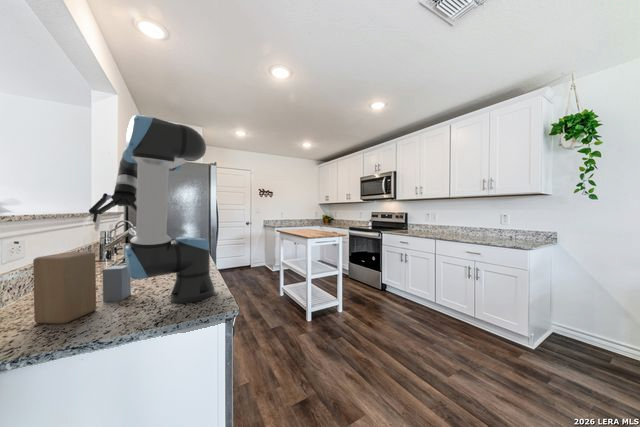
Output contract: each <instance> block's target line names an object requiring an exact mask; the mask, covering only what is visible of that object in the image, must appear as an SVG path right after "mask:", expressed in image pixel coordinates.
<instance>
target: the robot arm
mask: <svg viewBox="0 0 640 427" xmlns="http://www.w3.org/2000/svg"><path fill="white" fill-rule="evenodd" d="M206 145H207V144H206V142H205V139H204V138H203V136H202V135H201V134H200V133H199V132H198V131H197V130H195V129H194V128H192V127H190V126H187V125H184V124H179V123H175V122H172V121H169V120H164V119H161V118H156V117H154V116H147V115H142V114H135V115H133V116H132V117H131V119H130V121H129V124H128V127H127V130H126V136H125V145H124V147H125V148H124V149H123V152H122V156H121V160H120V161H119V167H118V172H117V177H116V180H115V186H114V191H113V194H112V195H111V194H108V193H107V192H106V193H103V195H102V197H101V198H100V199H99V200H98V201H97V202H95V204H94V205H93V206H92V207H90V208H89V209H88V212H89V214H90V215H93V217H92V222H93V223H94V224H95V225H94V228H93V229H94V231H95V232H99V229H100V225H101V220H102V214H104V213H106V212H107V211H108V210H109V211H110V209H112V208H113V207H114V208H115V207H116V206H118V207H130V208H131V209H133V211H135V213H136V221H135V222H136V226H135V227H136V228H135V230H136V231H135V232H136V233H135V235H134V236H132V237H131V238H130V239H129V240H130V241H129V244H127V245H125V246H124V247H123V255H124V261H125V265H126V266H127V270H128V273H129V276H130V279H132V280H141V279H142V280H144V279H149V278H155V277H161V276H165V275H172V274H175V281H174V284H173V287H172V289H171V293H170V300H171V302H173V303H178V304H186V303H195V302H200V301H203V300H206V299H208V298H210V297H213V295H214V294H215V286H214V283H213V280H212V278H211V275H210V252H211V249H210V243H209V240H208V239H206V238H200V237H191V236H190V237H188V236H187V237H186V236H182V237H181V236H179V237H176V238H175V239H174V240H175V241H172V237H170V236H169V235H168V233H167V231H168V229H167V228H168V226H167V225H168V206H169V205H168V204H169V202H168V199H169V173H170V172H179V171H180V170H181V168H182V165H184V164H185V163H189V162H196V161H198V160H201V159H202V158H203V157H204V156H205V154H206V150H207V146H206ZM110 199H111V200H110ZM109 200H110V202H108V203H107V204H105V203H106V202H107V201H109ZM135 203H136V204H135Z"/></svg>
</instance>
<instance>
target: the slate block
mask: <svg viewBox="0 0 640 427" xmlns="http://www.w3.org/2000/svg"><path fill="white" fill-rule="evenodd" d="M131 287H132V286H131V277H130V276H129V273H128V270H127V266H126V264H124V265H123V264H121V265H111V266H109V267H106V268H103V269H102V302H115V301H123V300H124V299H126V298H127V297H129V296H131V295H132V294H131V289H132V288H131Z"/></svg>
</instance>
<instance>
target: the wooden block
mask: <svg viewBox="0 0 640 427" xmlns="http://www.w3.org/2000/svg"><path fill="white" fill-rule="evenodd" d="M32 263H33V265H32V266H33V270H32V272H33V309H34V310H33V311H34V312H33V313H34V314H33V316H34V317H33V320H34V322H35V324H60V325H61V324H67V323H69V322H72V321H74V320H77V319H78V318H81V317H83V316H85V315H88V314H89V313H92V312H94V311H96V309H97V284H96V283H97V282H96V280H97V279H96V278H97V276H96V272H97V271H96V270H97V268H96V253H94V252H92V251H91V252H90V251H89V252H88V251H87V252H86V251H83V252H82V251H76V252H75V251H74V252H73V251H70V252H69V251H67V252H62V253H61V252H60V253H55V254H49V255H42V256H37V257H35V258H33V261H32Z"/></svg>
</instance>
